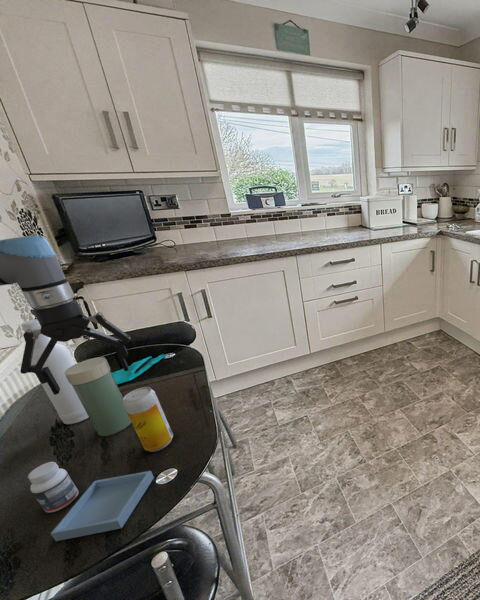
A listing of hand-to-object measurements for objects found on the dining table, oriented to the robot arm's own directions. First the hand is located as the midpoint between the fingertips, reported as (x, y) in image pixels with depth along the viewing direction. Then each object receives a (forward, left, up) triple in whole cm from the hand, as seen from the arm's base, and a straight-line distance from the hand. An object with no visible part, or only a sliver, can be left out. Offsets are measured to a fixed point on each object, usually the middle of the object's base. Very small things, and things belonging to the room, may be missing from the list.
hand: (93, 380), depth 83 cm
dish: (+15, -27, -15) cm, 34 cm away
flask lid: (0, 0, +4) cm, 4 cm away
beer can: (+16, -11, -15) cm, 24 cm away
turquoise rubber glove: (-14, +29, -15) cm, 36 cm away
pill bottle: (+4, -23, -15) cm, 28 cm away
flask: (0, 0, -15) cm, 15 cm away
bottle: (-14, +8, -15) cm, 22 cm away
